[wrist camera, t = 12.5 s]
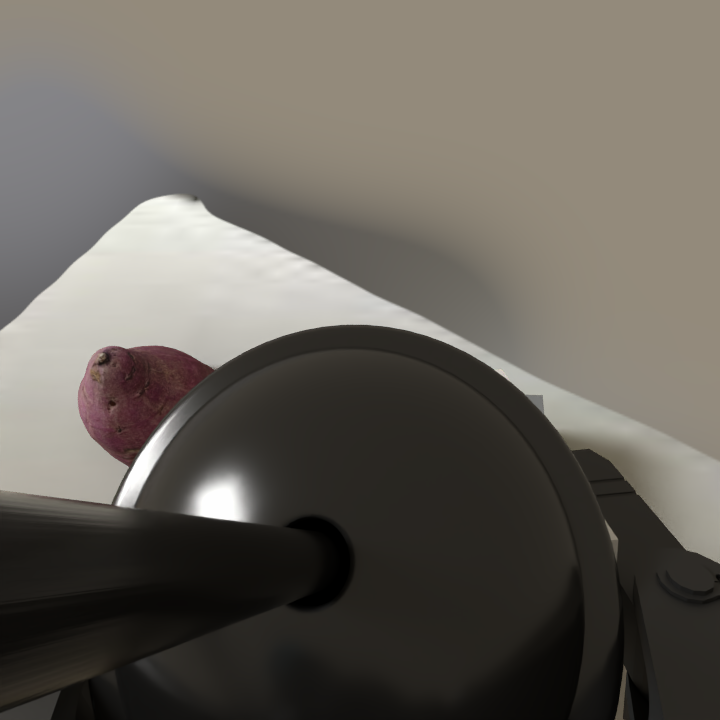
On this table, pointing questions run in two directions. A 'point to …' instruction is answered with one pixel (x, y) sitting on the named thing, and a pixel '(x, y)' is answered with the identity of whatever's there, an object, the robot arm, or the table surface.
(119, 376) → the vegetable
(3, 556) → the drinking cup
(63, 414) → the table surface
